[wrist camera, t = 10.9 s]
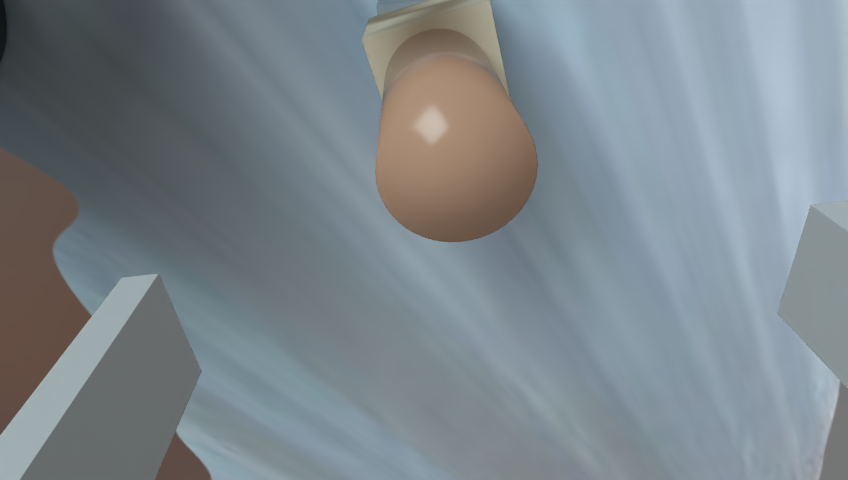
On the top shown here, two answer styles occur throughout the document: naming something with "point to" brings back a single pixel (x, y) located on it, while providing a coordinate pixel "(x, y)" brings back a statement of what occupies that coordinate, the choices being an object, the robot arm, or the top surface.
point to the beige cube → (442, 9)
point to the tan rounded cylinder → (450, 141)
